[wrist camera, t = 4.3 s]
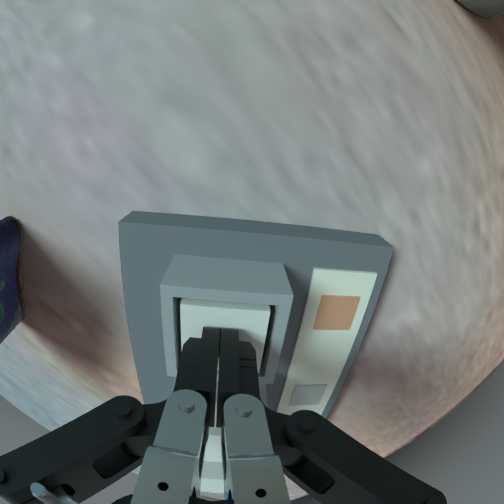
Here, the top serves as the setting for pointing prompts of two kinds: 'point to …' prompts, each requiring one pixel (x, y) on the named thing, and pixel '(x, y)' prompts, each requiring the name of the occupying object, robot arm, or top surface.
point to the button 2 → (225, 321)
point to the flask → (10, 276)
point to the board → (253, 297)
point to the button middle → (214, 444)
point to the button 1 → (212, 477)
